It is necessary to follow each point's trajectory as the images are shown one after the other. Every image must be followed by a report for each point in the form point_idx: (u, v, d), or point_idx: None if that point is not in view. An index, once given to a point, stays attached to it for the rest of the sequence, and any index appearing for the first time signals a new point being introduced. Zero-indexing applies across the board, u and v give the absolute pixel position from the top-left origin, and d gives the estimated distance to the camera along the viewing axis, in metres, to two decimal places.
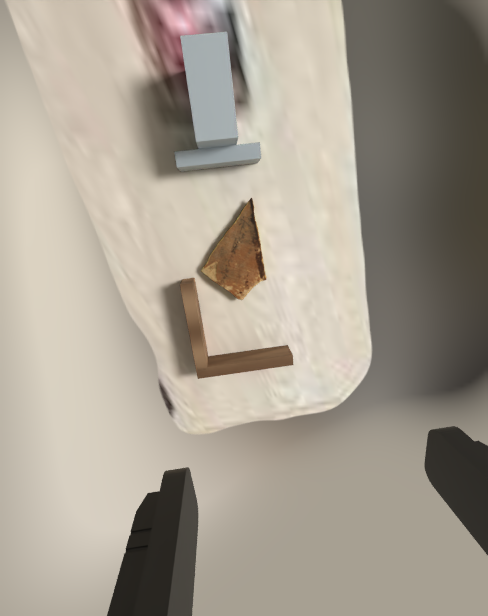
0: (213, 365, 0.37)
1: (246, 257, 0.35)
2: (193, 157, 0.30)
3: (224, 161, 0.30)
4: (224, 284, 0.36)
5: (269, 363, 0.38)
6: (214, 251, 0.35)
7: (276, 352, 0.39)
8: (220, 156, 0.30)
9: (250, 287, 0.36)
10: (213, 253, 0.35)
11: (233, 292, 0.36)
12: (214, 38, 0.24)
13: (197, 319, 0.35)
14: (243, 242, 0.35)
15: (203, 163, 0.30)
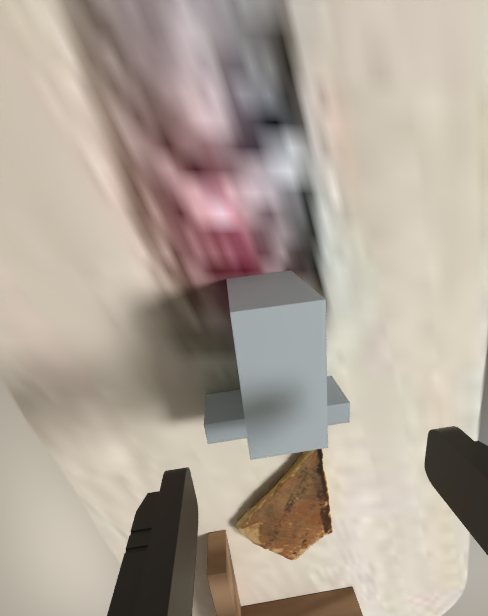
0: None
1: (305, 515, 0.23)
2: (236, 429, 0.17)
3: None
4: (271, 547, 0.24)
5: None
6: (258, 510, 0.23)
7: (340, 610, 0.27)
8: None
9: (309, 545, 0.24)
10: (256, 512, 0.23)
11: (284, 554, 0.24)
12: (299, 311, 0.12)
13: (232, 607, 0.23)
14: (304, 497, 0.22)
15: None
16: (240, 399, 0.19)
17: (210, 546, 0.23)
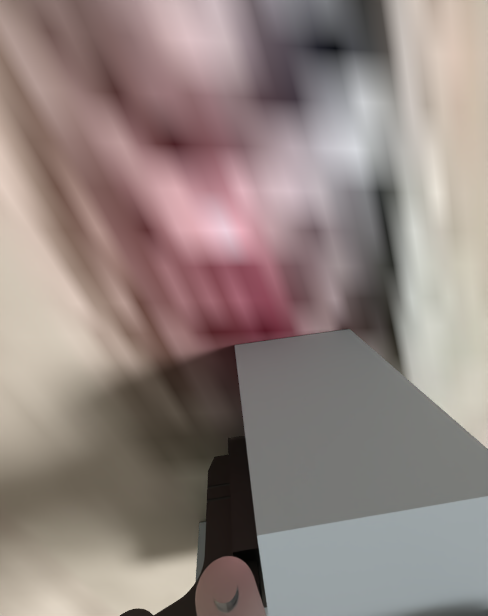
0: None
1: None
2: None
3: None
4: None
5: None
6: None
7: None
8: None
9: None
10: None
11: None
12: (453, 519, 0.04)
13: None
14: None
15: None
16: None
17: None
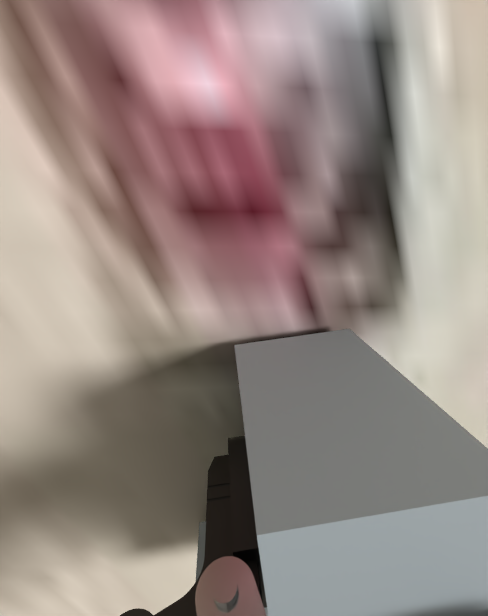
0: None
1: None
2: None
3: None
4: None
5: None
6: None
7: None
8: None
9: None
10: None
11: None
12: (453, 519, 0.04)
13: None
14: None
15: None
16: None
17: None
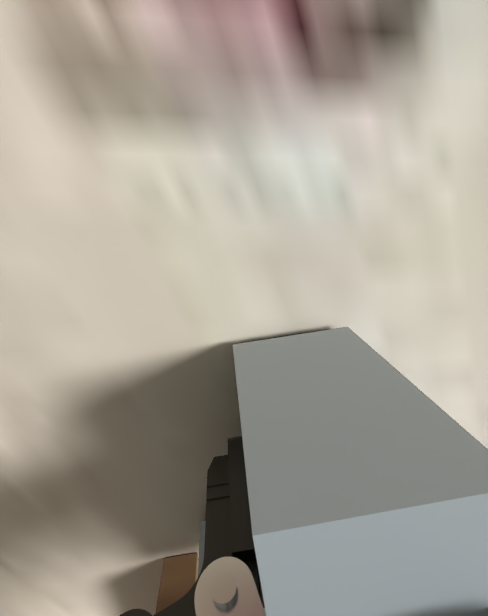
0: None
1: None
2: None
3: None
4: None
5: None
6: None
7: None
8: None
9: None
10: None
11: None
12: (449, 517, 0.04)
13: None
14: None
15: None
16: None
17: (165, 585, 0.12)
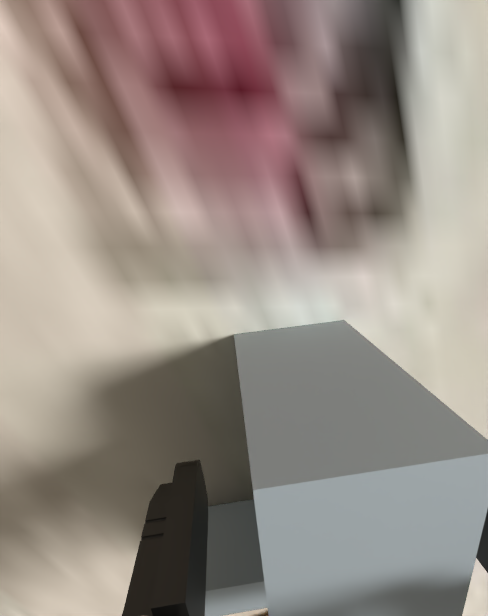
0: None
1: None
2: (248, 597, 0.10)
3: None
4: None
5: None
6: None
7: None
8: None
9: None
10: None
11: None
12: (430, 479, 0.05)
13: None
14: None
15: None
16: (254, 525, 0.11)
17: None
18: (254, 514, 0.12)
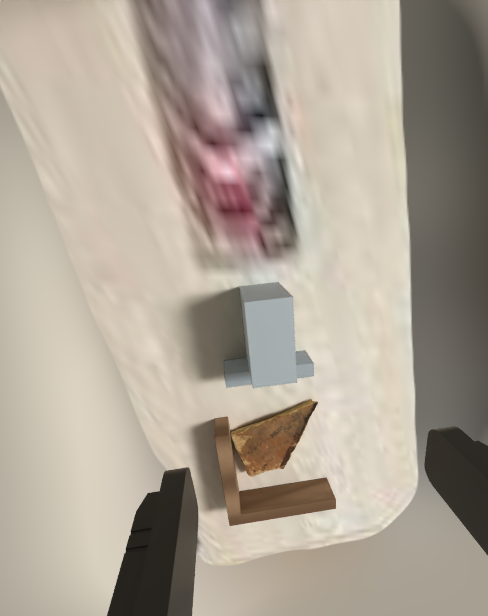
0: (248, 512, 0.33)
1: (279, 445, 0.33)
2: (244, 378, 0.28)
3: None
4: (244, 458, 0.33)
5: (309, 508, 0.34)
6: (255, 426, 0.32)
7: (316, 490, 0.35)
8: None
9: (265, 470, 0.34)
10: (253, 428, 0.32)
11: (248, 468, 0.34)
12: (279, 302, 0.23)
13: (232, 469, 0.31)
14: (286, 432, 0.33)
15: None
16: (246, 362, 0.30)
17: (216, 424, 0.32)
18: (246, 360, 0.30)
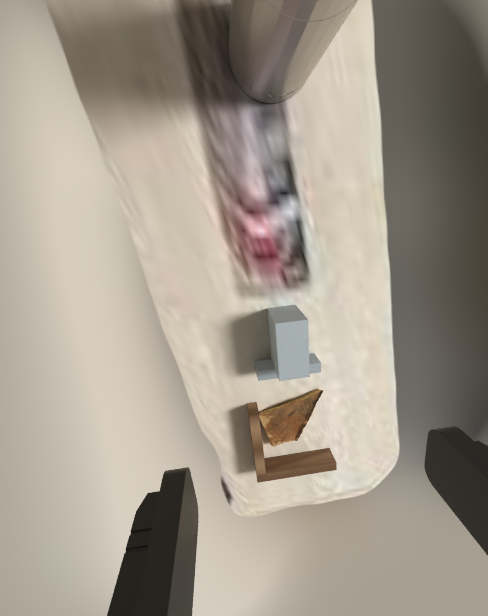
0: (271, 472, 0.45)
1: (294, 423, 0.45)
2: (271, 374, 0.39)
3: None
4: (268, 432, 0.45)
5: (316, 469, 0.46)
6: (276, 409, 0.44)
7: (321, 457, 0.47)
8: None
9: (284, 441, 0.46)
10: (275, 410, 0.44)
11: (271, 439, 0.45)
12: (298, 323, 0.34)
13: (260, 440, 0.43)
14: (299, 413, 0.44)
15: (278, 377, 0.40)
16: (271, 362, 0.41)
17: (249, 407, 0.43)
18: (271, 361, 0.41)
